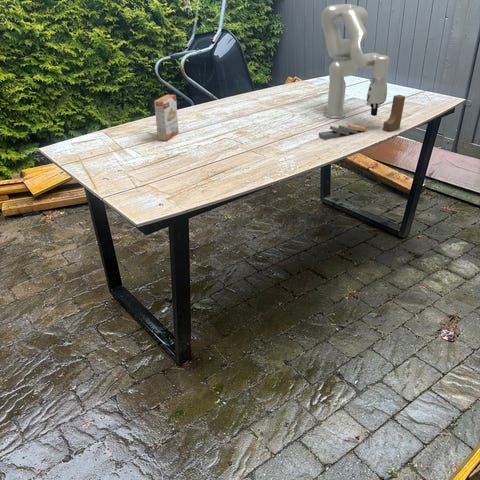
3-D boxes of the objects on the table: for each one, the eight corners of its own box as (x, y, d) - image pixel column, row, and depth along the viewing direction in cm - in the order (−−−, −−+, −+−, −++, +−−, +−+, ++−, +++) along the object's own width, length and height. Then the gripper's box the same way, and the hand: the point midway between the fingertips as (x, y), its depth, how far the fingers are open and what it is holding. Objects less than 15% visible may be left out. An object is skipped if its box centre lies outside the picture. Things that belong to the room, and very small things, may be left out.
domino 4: (350, 130, 251) (337, 128, 245) (351, 128, 250) (339, 125, 245) (356, 133, 247) (344, 130, 242) (357, 130, 247) (345, 127, 241)
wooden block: (388, 132, 249) (394, 98, 239) (382, 129, 252) (387, 97, 242) (399, 128, 253) (405, 96, 243) (393, 126, 256) (399, 94, 246)
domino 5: (360, 128, 254) (347, 126, 249) (361, 125, 253) (348, 124, 248) (366, 131, 250) (353, 129, 245) (367, 128, 249) (354, 126, 244)
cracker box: (167, 141, 240) (163, 101, 229) (157, 140, 242) (153, 100, 230) (179, 133, 251) (176, 94, 240) (169, 131, 253) (166, 93, 241)
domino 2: (333, 135, 247) (318, 139, 243) (333, 133, 247) (319, 136, 243) (339, 138, 244) (324, 141, 240) (339, 135, 243) (324, 139, 239)
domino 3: (342, 132, 249) (329, 128, 243) (343, 129, 248) (330, 125, 243) (348, 135, 245) (335, 131, 239) (349, 132, 244) (336, 128, 239)
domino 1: (334, 132, 247) (318, 135, 243) (334, 130, 246) (318, 132, 243) (339, 135, 243) (323, 138, 240) (339, 132, 242) (323, 135, 239)
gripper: (371, 83, 234) (366, 118, 244) (394, 80, 239) (388, 115, 249) (362, 80, 240) (358, 115, 250) (385, 77, 245) (380, 111, 255)
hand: (373, 115), depth 249 cm, fingers closed
